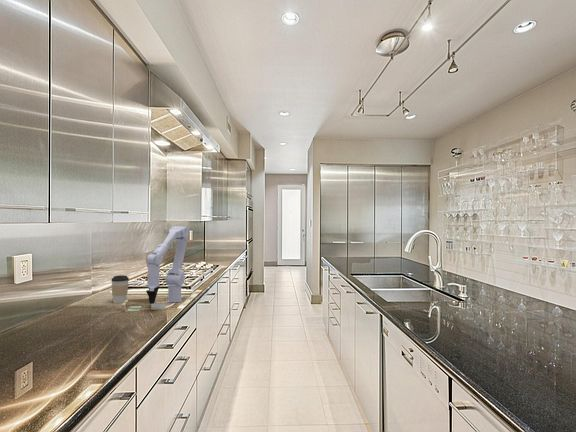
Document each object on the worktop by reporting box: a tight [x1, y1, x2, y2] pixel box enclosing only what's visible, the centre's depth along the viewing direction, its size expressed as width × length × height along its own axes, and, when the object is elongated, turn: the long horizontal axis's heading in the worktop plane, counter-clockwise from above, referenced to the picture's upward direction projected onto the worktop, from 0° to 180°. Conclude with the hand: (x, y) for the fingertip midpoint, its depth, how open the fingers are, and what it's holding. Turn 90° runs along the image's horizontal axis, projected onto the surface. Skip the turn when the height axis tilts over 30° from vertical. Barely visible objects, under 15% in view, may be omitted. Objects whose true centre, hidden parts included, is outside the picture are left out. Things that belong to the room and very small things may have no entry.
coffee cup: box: [111, 274, 130, 304], centre depth 187 cm, size 9×9×15 cm
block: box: [150, 296, 167, 311], centre depth 175 cm, size 7×4×6 cm, turn 108°
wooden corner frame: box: [120, 297, 151, 313], centre depth 175 cm, size 13×14×4 cm
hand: (152, 301), depth 175 cm, fingers open, 7 cm apart
